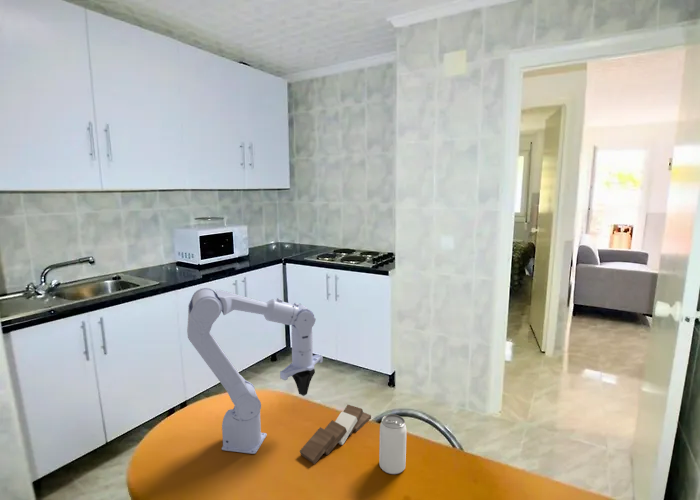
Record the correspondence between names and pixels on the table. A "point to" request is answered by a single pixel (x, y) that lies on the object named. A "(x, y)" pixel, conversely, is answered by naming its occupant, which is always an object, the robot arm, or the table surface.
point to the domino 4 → (346, 424)
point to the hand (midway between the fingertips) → (302, 393)
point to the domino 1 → (317, 445)
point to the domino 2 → (335, 434)
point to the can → (392, 444)
